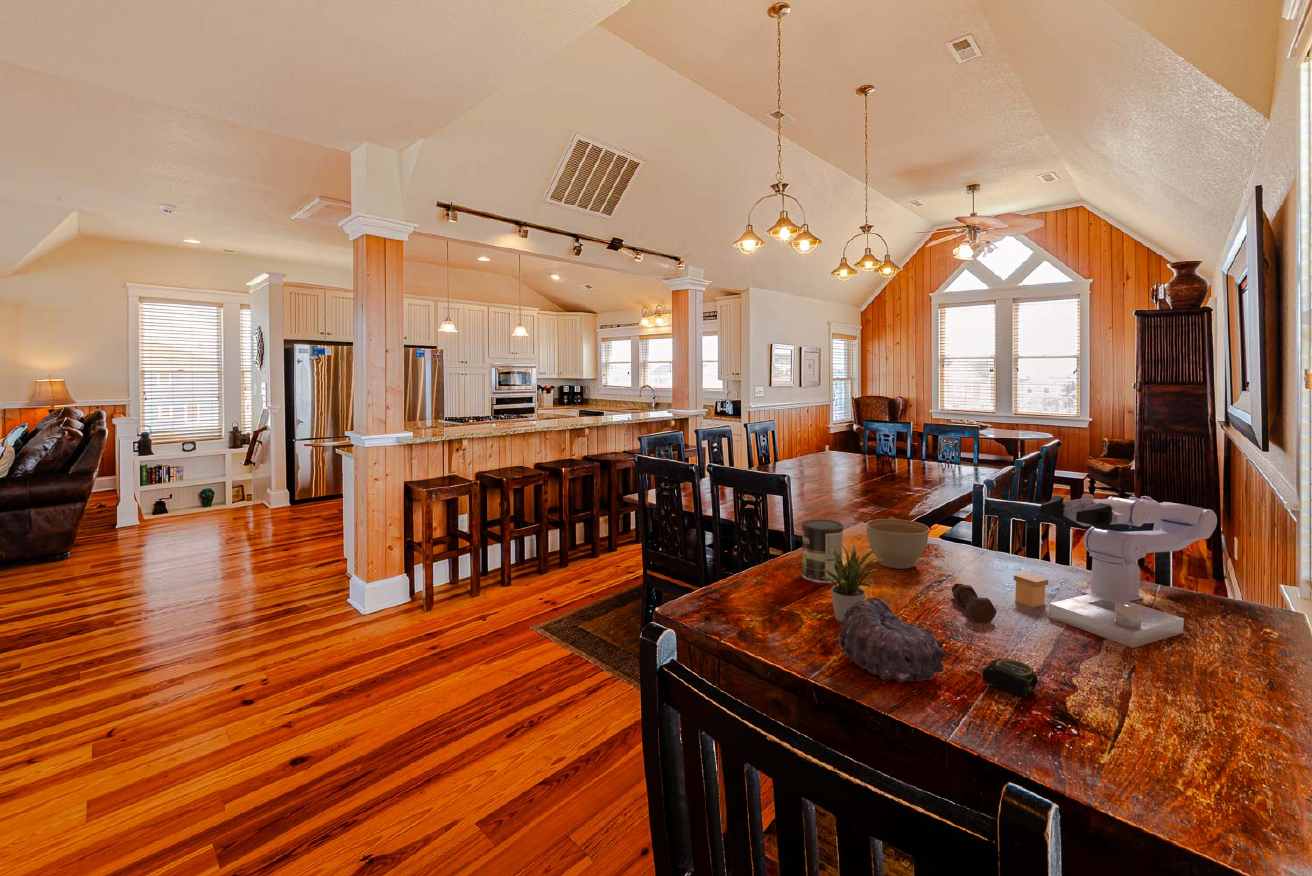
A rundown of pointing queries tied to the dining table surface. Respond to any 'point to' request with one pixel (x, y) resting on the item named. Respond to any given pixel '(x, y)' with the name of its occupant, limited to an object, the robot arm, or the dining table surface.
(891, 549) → the planter bowl
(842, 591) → the house plant
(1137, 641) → the grey slab with hole
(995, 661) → the tape measure
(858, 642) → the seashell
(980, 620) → the bolt
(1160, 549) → the robot arm
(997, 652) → the dining table surface
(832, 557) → the coffee can
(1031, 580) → the tan chamfered block
